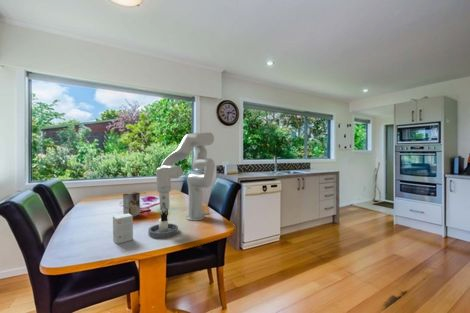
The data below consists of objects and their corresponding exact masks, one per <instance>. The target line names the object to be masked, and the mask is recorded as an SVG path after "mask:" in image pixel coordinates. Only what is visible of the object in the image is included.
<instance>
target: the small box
mask: <svg viewBox="0 0 470 313" xmlns="http://www.w3.org/2000/svg"><path fill="white" fill-rule="evenodd" d="M133 218H134V216H132V215H131V214H129V213H128V214H123V213H122V214H117V215H112V235H113V236H112V240H113V242H114V243H115V244H116V245H117V244H121V243H126V242H130V241H133V240H134V225H133V224H134V223H133V221H134V219H133Z"/></svg>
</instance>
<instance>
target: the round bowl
mask: <svg viewBox="0 0 470 313" xmlns="http://www.w3.org/2000/svg"><path fill="white" fill-rule="evenodd" d="M147 231H148V232H147V233H148V237H150V238H152V239H161V240H162V239H168V238H172V237H174V236H176V235H178V233H179V226H178V225H177V224H175V223H169V222H168V232H162V233H159V223H158V224H155V225H151V227H148V230H147Z"/></svg>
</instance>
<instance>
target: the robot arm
mask: <svg viewBox="0 0 470 313" xmlns="http://www.w3.org/2000/svg"><path fill="white" fill-rule="evenodd" d="M214 141H215V136H214V134H213V133H212V132H194V133H193V132H192V133H191V132H190V133H186V134H185V135H184V136H183V138H182V139H181V142H180V143H179V145H178V146H177V148H176V149H175V151H173V152H172V153H170V154H169V155H168V156H166V158H164V159H163V161H162V163H161V165H160V166H159V167H157V168H156V171H155V172H156V175H155V176H156V193H159V198H158V199H159V209H160V212H161V213H160V219H161V221H167V219H168V215H169V210H170V208H171V207H170V192H171V190H172V188H171V185H172V184H171V183H172V182H171V181H172V180H171V179H179V178H180V177H182V176H183V171H184V170H183V169H182V167H181V166H179V165H175V164H176V163H177V162H179V161H183V160H185V159H187V158H189V157H190V155H191V152H192V150H193V149H194V157H193V161H192V169H193V171H195V172H191V173H190V174H188V175H187V178H186V182H187V187H188V188H187V189H188V214H187V215H186V220H188V221H195V222H196V221H201V220H204V219H206V218H205V216H209V215H210V212H209V211H208V212H207V211H204V210H203V190H202V188H204V189H205V188H210V187H211V185H212V183H213V178H214V174H215V168H216V167H215V165H216V164H215V160H214V159H212V158H211V157H210V158H209V157H207V156H208V151H207V149H206V146H210V145H212V144H213V143H214ZM201 172H202V173H201ZM203 172H204V173H203Z"/></svg>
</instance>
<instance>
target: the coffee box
mask: <svg viewBox="0 0 470 313" xmlns="http://www.w3.org/2000/svg"><path fill="white" fill-rule="evenodd" d="M140 194H141V193H140V192H136V191H132V192H128V193H122V202H123V207H122V210H123V213H122V214H128V213H129V214H131V215H132V216H133V217H135V216H140V214H141V200H140V199H141V198H140V196H141V195H140Z"/></svg>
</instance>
